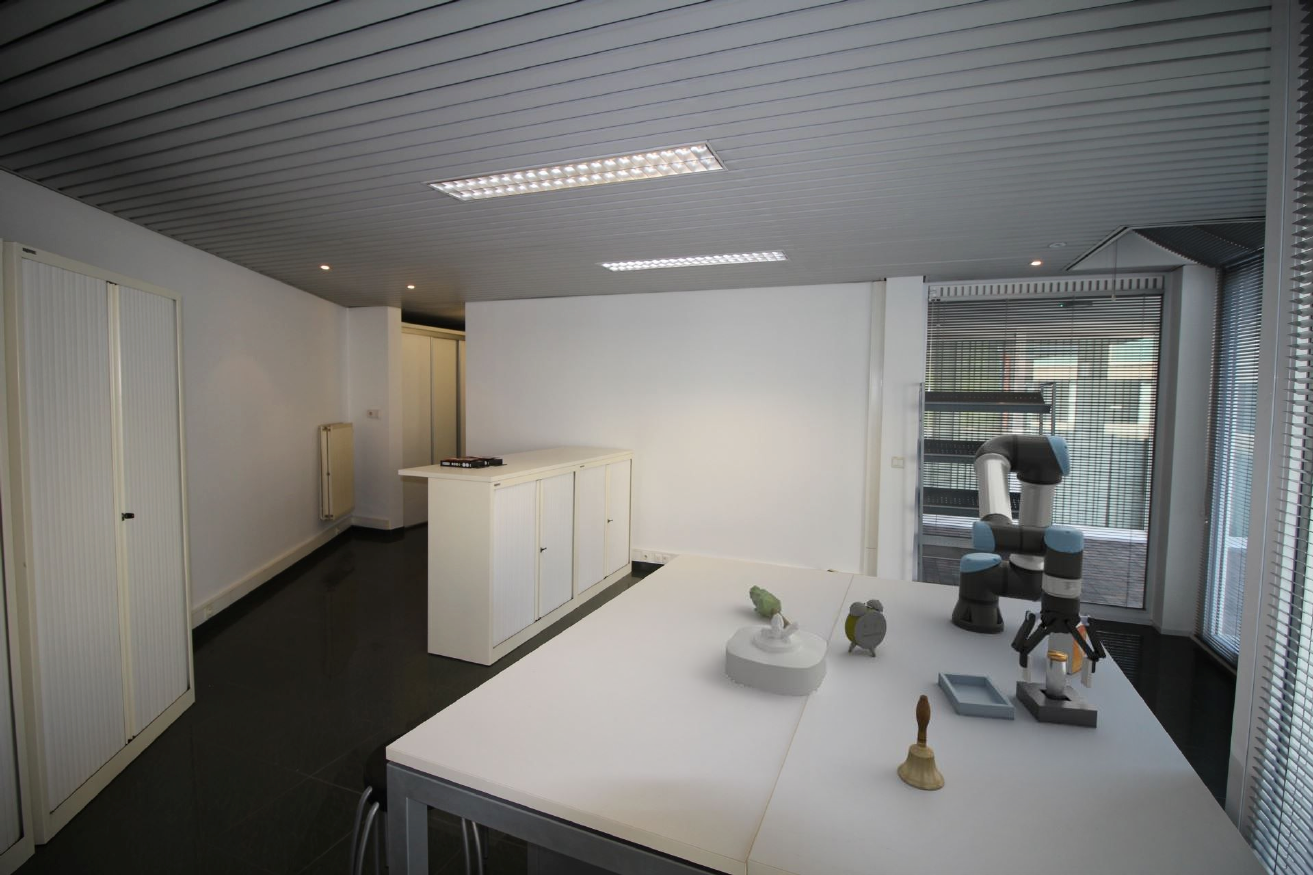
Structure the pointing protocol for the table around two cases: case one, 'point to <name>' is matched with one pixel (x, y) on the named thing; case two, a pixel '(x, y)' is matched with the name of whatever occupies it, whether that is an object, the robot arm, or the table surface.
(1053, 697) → the steel pin
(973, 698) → the tray
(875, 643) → the alarm clock
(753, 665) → the tissue box
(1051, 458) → the robot arm
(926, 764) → the hand bell
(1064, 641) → the small box
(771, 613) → the decorative object
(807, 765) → the table surface
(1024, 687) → the block
